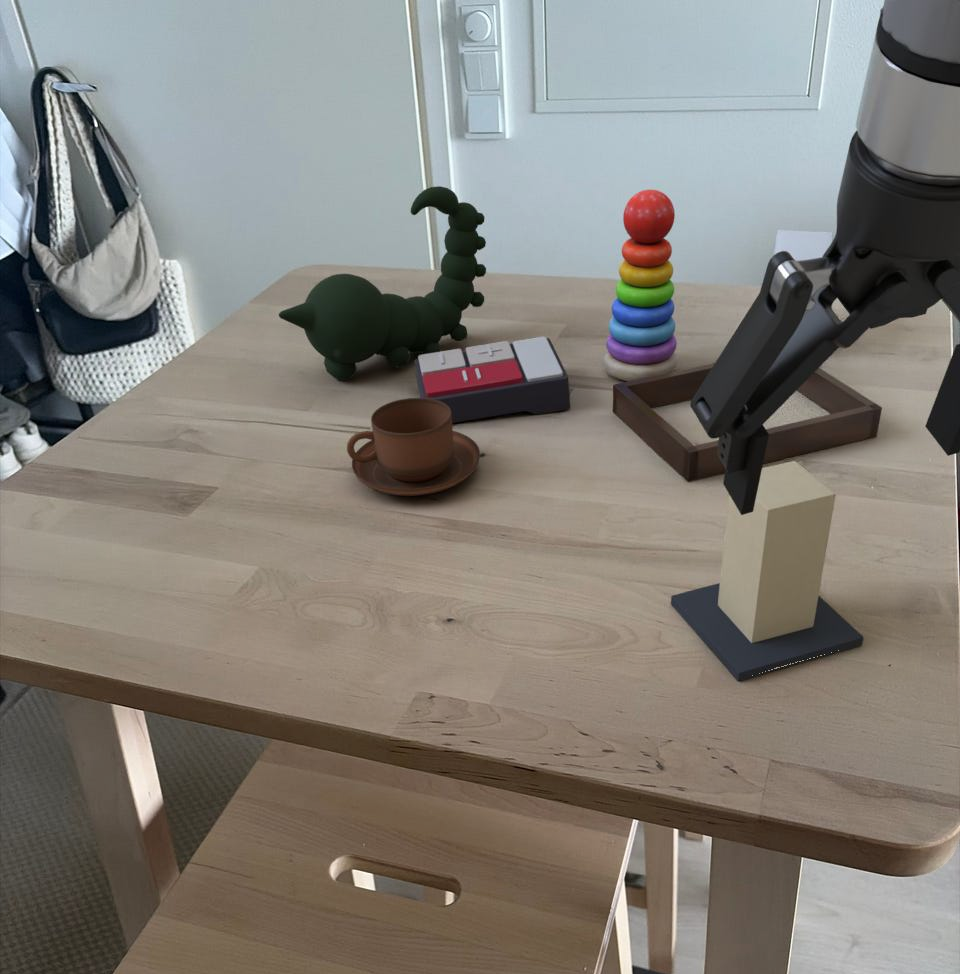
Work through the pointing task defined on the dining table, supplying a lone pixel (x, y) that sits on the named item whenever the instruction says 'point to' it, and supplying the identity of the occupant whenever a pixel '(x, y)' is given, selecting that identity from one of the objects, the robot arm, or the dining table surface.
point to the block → (776, 554)
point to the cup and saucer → (413, 449)
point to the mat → (767, 653)
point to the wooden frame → (842, 426)
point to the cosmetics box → (803, 243)
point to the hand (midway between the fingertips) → (840, 468)
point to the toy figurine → (396, 301)
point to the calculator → (495, 379)
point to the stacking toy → (644, 293)
